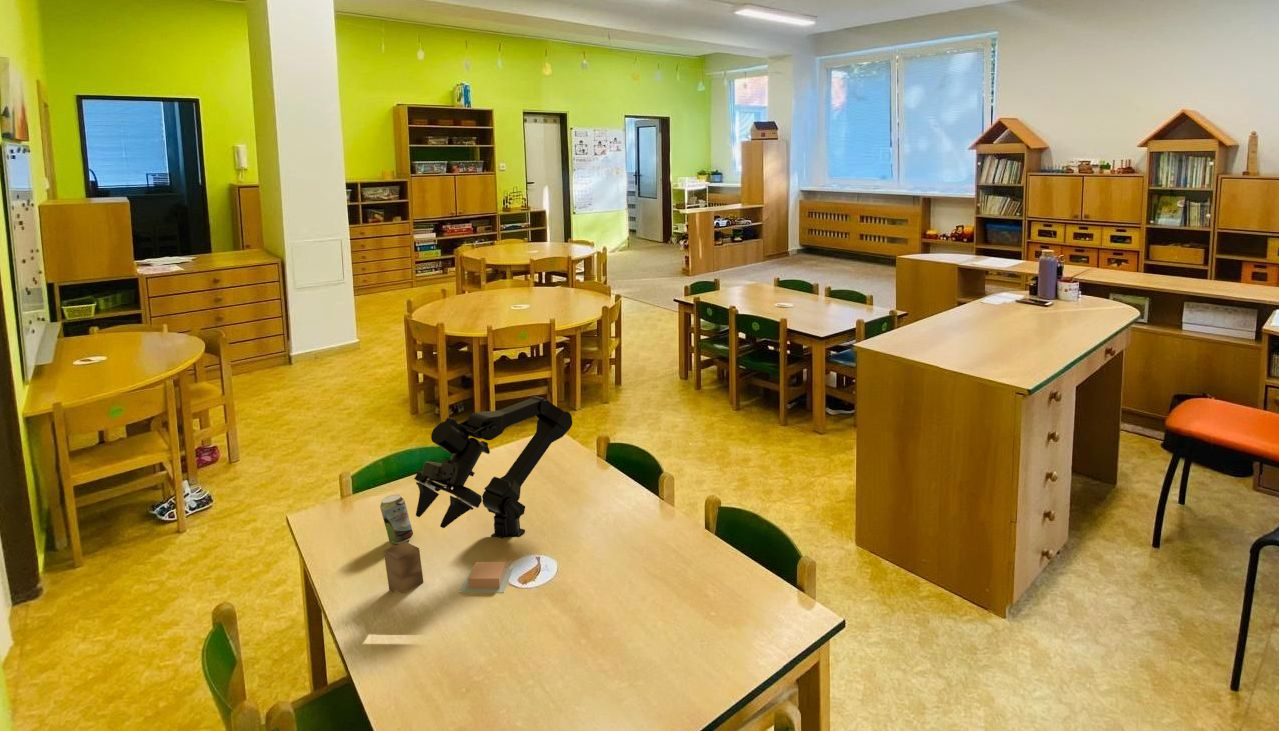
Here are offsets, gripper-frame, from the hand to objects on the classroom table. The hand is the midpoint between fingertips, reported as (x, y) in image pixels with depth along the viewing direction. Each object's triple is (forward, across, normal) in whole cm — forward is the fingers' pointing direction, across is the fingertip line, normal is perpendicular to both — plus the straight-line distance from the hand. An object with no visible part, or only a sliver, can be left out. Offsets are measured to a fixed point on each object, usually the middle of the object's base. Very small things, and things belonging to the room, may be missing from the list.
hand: (429, 521), depth 177 cm
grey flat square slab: (+7, +14, +13) cm, 20 cm away
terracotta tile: (+6, +14, +12) cm, 19 cm away
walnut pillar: (+15, 0, +4) cm, 16 cm away
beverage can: (+7, -21, +13) cm, 25 cm away
